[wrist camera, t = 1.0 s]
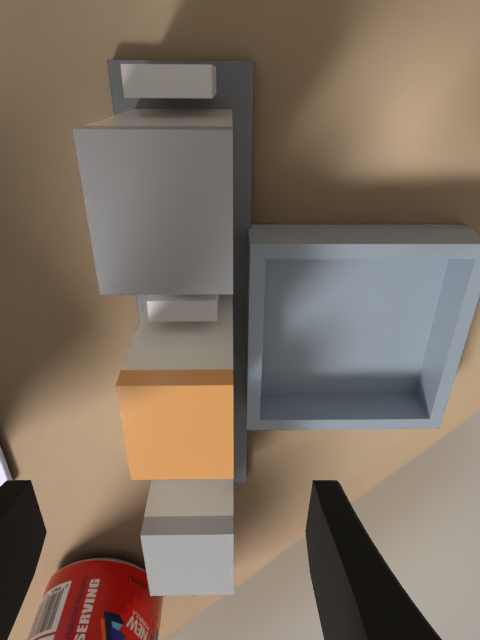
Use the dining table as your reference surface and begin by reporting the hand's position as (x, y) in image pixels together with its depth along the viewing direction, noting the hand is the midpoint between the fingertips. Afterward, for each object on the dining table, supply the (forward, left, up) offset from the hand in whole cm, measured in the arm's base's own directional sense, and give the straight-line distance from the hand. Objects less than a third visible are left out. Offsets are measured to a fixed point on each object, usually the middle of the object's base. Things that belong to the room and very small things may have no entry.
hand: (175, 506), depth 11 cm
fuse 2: (0, -7, -10) cm, 12 cm away
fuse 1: (0, +7, -10) cm, 12 cm away
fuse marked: (0, 0, -10) cm, 10 cm away
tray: (+7, 0, -10) cm, 12 cm away
